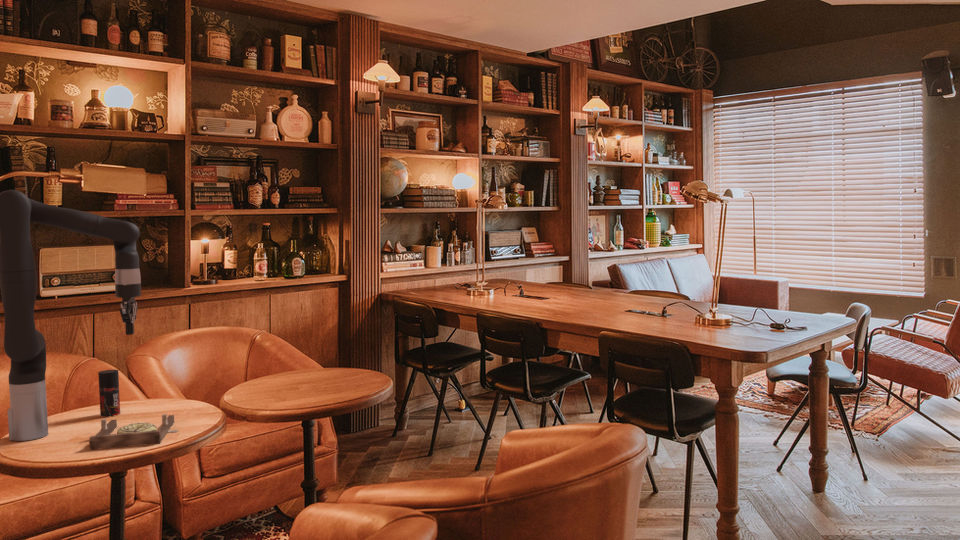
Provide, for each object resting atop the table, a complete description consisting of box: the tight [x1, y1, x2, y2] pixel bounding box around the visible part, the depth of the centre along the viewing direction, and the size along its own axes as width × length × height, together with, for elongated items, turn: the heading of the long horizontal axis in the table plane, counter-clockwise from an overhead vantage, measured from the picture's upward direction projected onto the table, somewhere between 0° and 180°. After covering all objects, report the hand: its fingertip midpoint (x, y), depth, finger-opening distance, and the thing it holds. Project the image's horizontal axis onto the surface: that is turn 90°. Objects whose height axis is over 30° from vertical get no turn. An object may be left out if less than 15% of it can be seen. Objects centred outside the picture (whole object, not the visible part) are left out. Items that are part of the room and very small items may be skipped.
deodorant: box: [97, 369, 121, 417], centre depth 225 cm, size 6×6×15 cm
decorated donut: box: [116, 422, 158, 434], centre depth 200 cm, size 10×11×4 cm
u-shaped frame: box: [89, 413, 178, 450], centre depth 202 cm, size 25×22×6 cm
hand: (129, 334), depth 218 cm, fingers closed
